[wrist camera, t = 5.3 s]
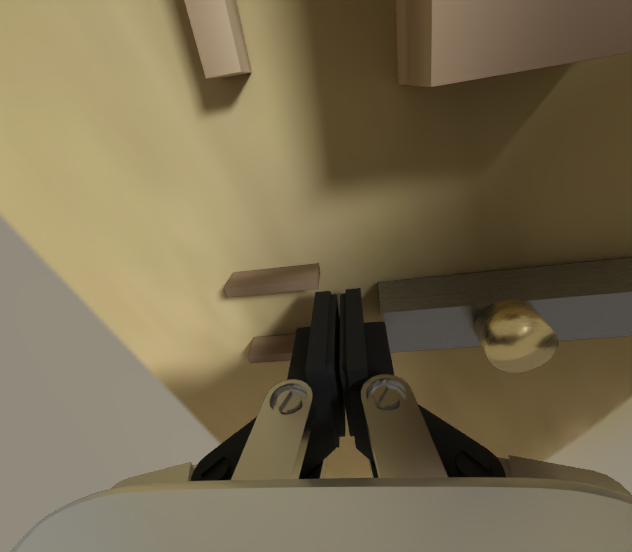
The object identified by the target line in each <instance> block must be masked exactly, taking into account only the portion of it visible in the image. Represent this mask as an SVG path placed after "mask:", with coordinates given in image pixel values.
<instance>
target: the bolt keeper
mask: <svg viewBox="0 0 632 552" xmlns="http://www.w3.org/2000/svg"><path fill="white" fill-rule="evenodd" d="M319 279H320V268H319V263H318V264H309V265H300V266H290V267H281V268H272V269H263V270H253V271H244V272H235V273H233V274H232V276H231V277H230V279H229V281H228V283H227V284H226V286H225V288H224V290H225V293H226V296H227V297H237V296H248V295H258V294H268V293H278V292H288V291H299V290H309V289H318V287H319ZM295 336H296V334H291V335H279V336H266V337H254V339H253V342H252V344H251V347H250V350H249V353H248V359H249V362H250V363H260V362H275V361H289V360H291V357H292V352H293V346H294V341H295Z"/></svg>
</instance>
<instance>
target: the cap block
mask: <svg viewBox="0 0 632 552" xmlns="http://www.w3.org/2000/svg"><path fill="white" fill-rule="evenodd" d="M395 5H396V35H397V66H398V84H399V85H412V86H424V87H434V86H440V85H446V84H452V83H457V82H463V81H469V80H475V79H480V78H486V77H492V76H498V75H504V74H509V73H515V72H521V71H527V70H532V69H538V68H544V67H550V66H555V65H561V64H567V63H573V62H579V61H584V60H590V59H596V58H602V57H607V56H613V55H619V54H625V53H630V52H632V0H395Z"/></svg>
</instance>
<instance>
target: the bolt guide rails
mask: <svg viewBox="0 0 632 552" xmlns="http://www.w3.org/2000/svg"><path fill="white" fill-rule="evenodd" d="M184 1H185V5H186V9H187V12H188V16H189V19H190V23H191V27H192V30H193V34H194V38H195V41H196V45H197V48H198V52H199V56H200V59H201V63H202V66H203V70H204V74H205V77H206V79H220V78H225V77H231V76H236V75H241V74H246V73H251V67H250V63H249V58H248V54H247V49H246V44H245V40H244V35H243V31H242V26H241V21H240V17H239V12H238V7H237V3H236V0H184Z"/></svg>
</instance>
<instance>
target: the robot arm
mask: <svg viewBox="0 0 632 552" xmlns="http://www.w3.org/2000/svg"><path fill="white" fill-rule="evenodd" d="M345 408H346V414H347V420H348V426H349V433H350V436H354V437H355V443H356V448H357V449H358V450H359V451H360V452H361V453H363V454H364V455H365V456H366V457H367V458H368V459H369V465H370V470H371V474H372V478H338V479H324V478H325V473H326V468H327V456H328V455H329V454H330V453H331V452H332V451H333V450H334V449H336V447H339V437H341V436H345ZM11 552H632V495H631V493H630V492H629V491H627V490H626V489H625V488H624V487H623V486H622V485H621V484H620V483H618V482H617V481H615V480H614V479H612V478H610V477H609V476H607V475H605V474H601V473H598V472H595V471H591V470H586V469H580V468H575V467H570V466H564V465H559V464H553V463H548V462H542V461H537V460H532V459H526V458H521V457H515V456H510V455H509V456H508V459H504V458H499V457H496V456H495V455H494V454H493V453H491V452H490V451H489V450H488V449H486V448H485V447H483V446H482V445H480V444H479V443H477V442H476V441H474V440H472V439H471V438H469V437H468V436H466V435H465V434H463V433H462V432H460V431H459V430H457V429H455V428H454V427H452V426H451V425H449V424H448V423H446V422H445V421H443V420H442V419H440V418H438V417H437V416H435V415H434V414H432V413H431V412H429V411H428V410H426V409H425V408H423V407H421V406H420V405H418V404H417V402H416V399H415V397H414V394H413V392H412V390H411V388H410V386H409V385H408V383H406V382H405V381H404V380H403V379H401V378H399V377H397V376H394V372H393V366H392V360H391V355H390V349H389V343H388V337H387V331H386V326H385V321H384V322H370V323H364V320H363V310H362V300H361V291H360V288H357V289H346V293H344V294H340V317H339V310H338V303H337V296H336V294H333V295H331V292H330V291H323V292H316V293H315V299H314V307H313V315H312V323H311V327H304V328H298V329H297V331H296V336H295V341H294V346H293V352H292V357H291V363H290V368H289V373H288V379H287V380H286V381H282V382H280V383H278V384H276V385H275V386H274V387H273V388H271V389H270V390H269V392H268V394H267V395H266V397H265V399H264V402H263V404H262V407H261V409H260V411H259V414H258V416H257V417H256V418H255V419H253V420H252V421H251V422H250V423H248V424H247V425H246V426H244V427H243V428H242V429H240V430H239V431H238V432H236V433H235V434H234V435H232V436H231V437H230V438H229V439H227V440H226V441H225V442H223V443H222V444H221V445H219V446H218V447H217V448H215V449H214V450H213V451H212V452H210V453H209V454H208V455H206V456H205V457H204V458H203V459H202V460H201V461H200V462H199V463H198V464H197V465H192V464H191V462H190V463H186V464H182V465H178V466H174V467H170V468H166V469H162V470H159V471H155V472H151V473H147V474H143V475H139V476H135V477H131V478H128V479H125V480H123V481H121V482H119V483H118V484H116V485H115V486H114V487H112V488H111V489H109V490H105V491H101V492H98V493H95V494H91V495H89V496H86V497H84V498H81V499H79V500H76V501H74V502H72V503H69V504H67V505H65V506H63V507H62V508H60V509H58V510H56V511H55V512H53V513H51V514H49V515H48V516H46V517H45V518H44V519H42V520H41V521H40V522H39V523H37V524H36V525H35V526H34V527H33V528H32V529H31V530H30V531H29V532H28V533H27V534H26V535H25V536H24V537H23V538H22V539H21V540H20V541H19V542H18V543H17V545H16V546H15V547H14V548H13V549H12V551H11Z"/></svg>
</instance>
